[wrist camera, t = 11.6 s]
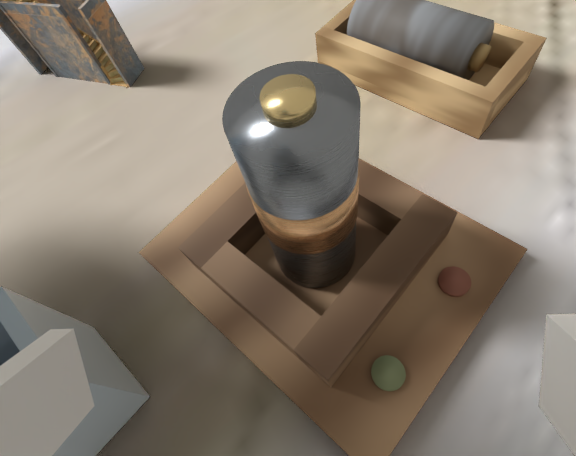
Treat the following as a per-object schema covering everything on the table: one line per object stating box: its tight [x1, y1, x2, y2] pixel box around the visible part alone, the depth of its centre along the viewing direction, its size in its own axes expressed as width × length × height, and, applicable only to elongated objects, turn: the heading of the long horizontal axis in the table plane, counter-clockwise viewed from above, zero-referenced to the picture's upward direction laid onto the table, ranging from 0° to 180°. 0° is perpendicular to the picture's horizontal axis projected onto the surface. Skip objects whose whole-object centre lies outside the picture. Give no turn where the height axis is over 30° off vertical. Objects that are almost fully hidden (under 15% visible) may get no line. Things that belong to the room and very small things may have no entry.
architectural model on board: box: [0, 0, 144, 88], centre depth 33 cm, size 11×3×10 cm, turn 70°
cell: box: [222, 61, 360, 288], centre depth 17 cm, size 5×5×12 cm
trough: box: [315, 0, 546, 139], centre depth 27 cm, size 14×7×5 cm, turn 49°
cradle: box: [139, 159, 527, 456], centre depth 22 cm, size 18×14×4 cm
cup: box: [0, 286, 150, 456], centre depth 18 cm, size 6×6×7 cm
